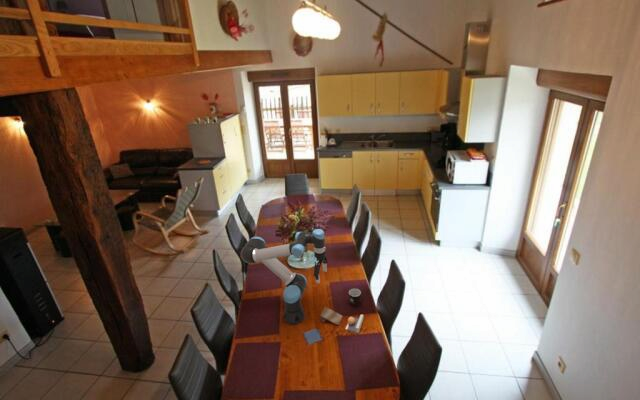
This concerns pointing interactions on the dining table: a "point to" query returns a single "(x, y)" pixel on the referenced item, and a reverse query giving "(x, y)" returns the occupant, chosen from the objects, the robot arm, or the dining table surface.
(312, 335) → the woven mat
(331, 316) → the ramp
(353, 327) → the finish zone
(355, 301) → the coffee mug
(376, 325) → the dining table surface
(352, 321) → the ball
